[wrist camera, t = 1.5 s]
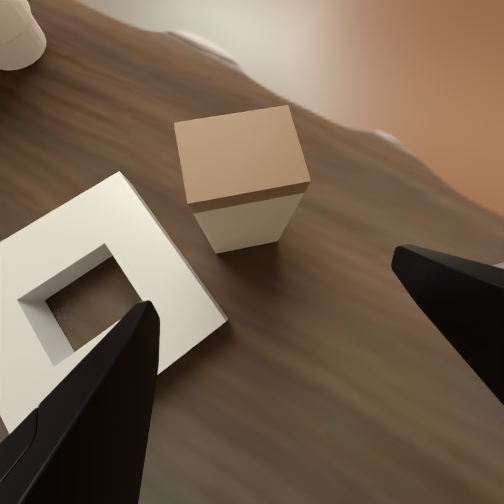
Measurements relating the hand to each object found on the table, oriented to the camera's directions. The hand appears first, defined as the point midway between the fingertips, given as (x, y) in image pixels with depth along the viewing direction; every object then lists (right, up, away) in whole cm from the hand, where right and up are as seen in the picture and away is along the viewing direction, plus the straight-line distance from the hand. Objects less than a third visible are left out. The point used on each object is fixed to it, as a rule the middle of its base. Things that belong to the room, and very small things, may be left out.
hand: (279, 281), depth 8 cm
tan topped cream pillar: (-2, +4, +14) cm, 14 cm away
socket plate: (-14, -3, +12) cm, 19 cm away
